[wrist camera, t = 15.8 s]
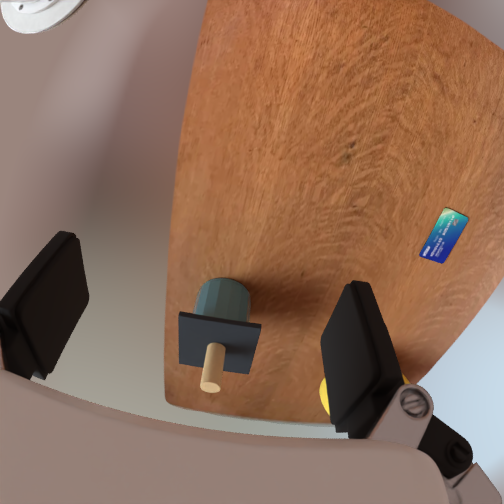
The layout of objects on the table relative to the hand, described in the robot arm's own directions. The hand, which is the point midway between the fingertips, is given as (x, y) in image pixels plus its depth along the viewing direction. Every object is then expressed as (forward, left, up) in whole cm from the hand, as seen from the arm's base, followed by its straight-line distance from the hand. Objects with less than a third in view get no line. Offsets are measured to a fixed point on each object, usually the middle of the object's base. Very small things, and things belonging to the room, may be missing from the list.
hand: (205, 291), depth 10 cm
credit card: (+30, -9, -28) cm, 42 cm away
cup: (0, -26, -28) cm, 38 cm away
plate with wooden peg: (0, -26, -19) cm, 32 cm away
